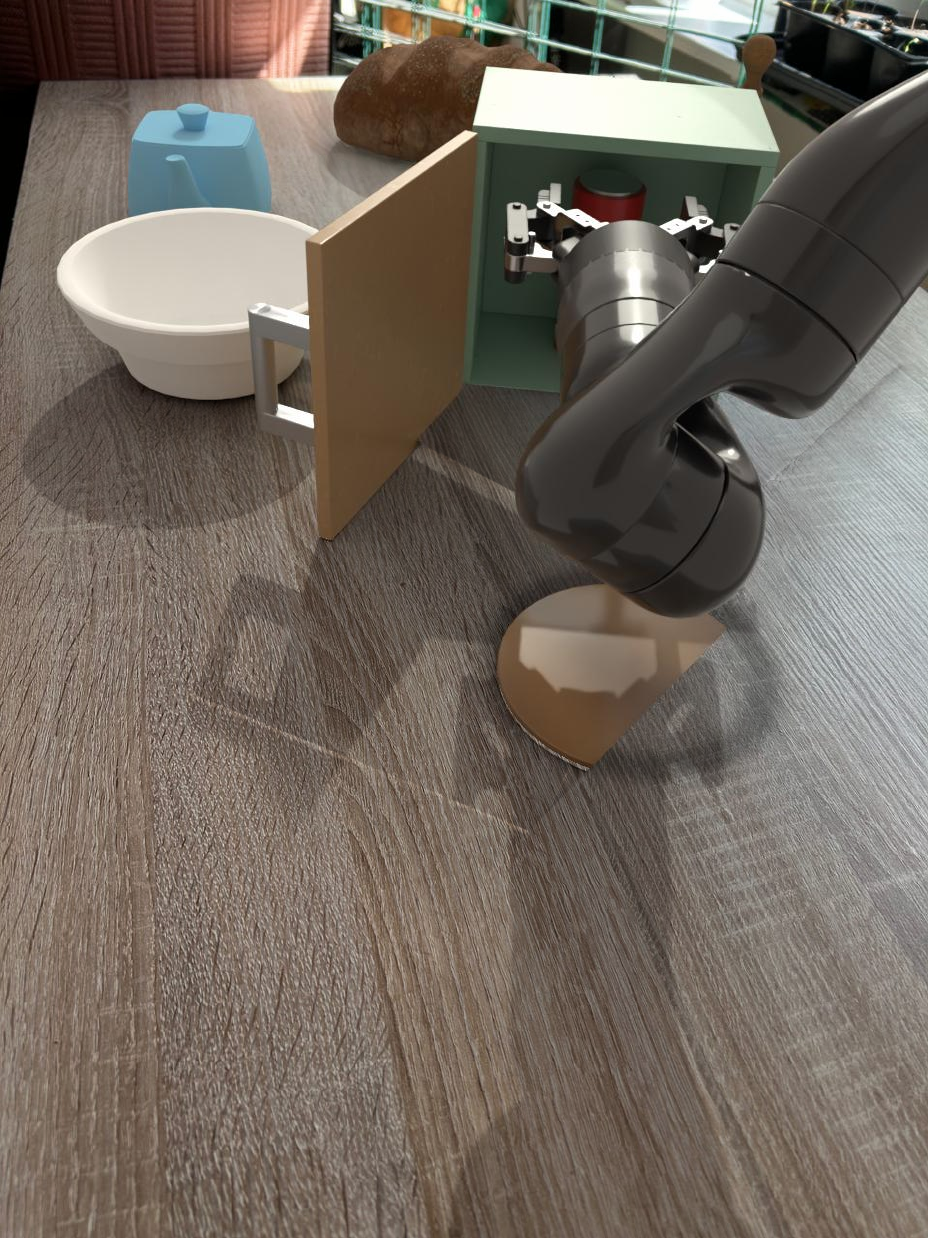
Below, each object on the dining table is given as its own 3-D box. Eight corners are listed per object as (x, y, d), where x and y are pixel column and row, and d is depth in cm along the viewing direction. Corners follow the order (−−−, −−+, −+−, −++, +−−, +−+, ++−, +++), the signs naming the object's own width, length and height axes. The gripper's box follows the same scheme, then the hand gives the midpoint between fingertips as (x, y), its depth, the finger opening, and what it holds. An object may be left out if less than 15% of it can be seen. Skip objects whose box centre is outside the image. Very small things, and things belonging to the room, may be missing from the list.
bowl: (402, 354, 87) (404, 257, 81) (220, 470, 74) (207, 364, 68) (213, 277, 95) (203, 185, 89) (17, 370, 82) (-9, 268, 76)
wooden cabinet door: (249, 513, 70) (219, 218, 57) (390, 377, 84) (393, 113, 70) (331, 541, 68) (321, 244, 55) (461, 398, 82) (478, 132, 69)
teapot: (116, 280, 93) (93, 145, 86) (155, 199, 107) (138, 76, 99) (258, 286, 94) (248, 153, 86) (280, 205, 107) (272, 83, 99)
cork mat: (593, 561, 69) (595, 551, 68) (804, 674, 62) (807, 665, 62) (442, 684, 60) (443, 675, 59) (669, 832, 53) (672, 823, 53)
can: (578, 324, 90) (601, 161, 81) (631, 347, 88) (661, 182, 79) (540, 346, 87) (559, 179, 78) (594, 370, 85) (621, 201, 75)
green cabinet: (713, 417, 82) (780, 151, 69) (456, 393, 83) (472, 124, 69) (699, 337, 92) (756, 89, 78) (469, 315, 92) (486, 65, 79)
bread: (346, 116, 128) (344, 10, 120) (590, 135, 127) (603, 30, 119) (323, 163, 116) (318, 48, 109) (591, 184, 115) (605, 70, 108)
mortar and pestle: (716, 210, 113) (758, 21, 101) (765, 232, 109) (814, 39, 97) (674, 224, 109) (712, 30, 97) (723, 247, 106) (768, 49, 94)
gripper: (781, 266, 54) (744, 154, 66) (500, 239, 54) (514, 132, 66) (745, 397, 59) (717, 271, 71) (488, 371, 59) (503, 250, 71)
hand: (619, 204), depth 68 cm, fingers open, 8 cm apart
